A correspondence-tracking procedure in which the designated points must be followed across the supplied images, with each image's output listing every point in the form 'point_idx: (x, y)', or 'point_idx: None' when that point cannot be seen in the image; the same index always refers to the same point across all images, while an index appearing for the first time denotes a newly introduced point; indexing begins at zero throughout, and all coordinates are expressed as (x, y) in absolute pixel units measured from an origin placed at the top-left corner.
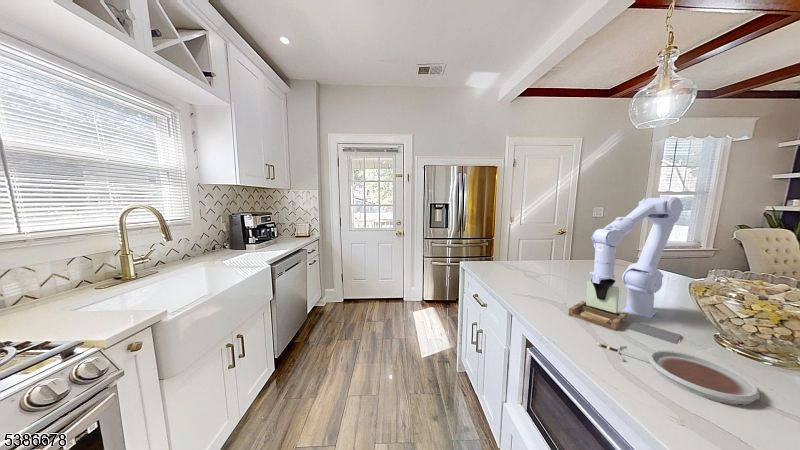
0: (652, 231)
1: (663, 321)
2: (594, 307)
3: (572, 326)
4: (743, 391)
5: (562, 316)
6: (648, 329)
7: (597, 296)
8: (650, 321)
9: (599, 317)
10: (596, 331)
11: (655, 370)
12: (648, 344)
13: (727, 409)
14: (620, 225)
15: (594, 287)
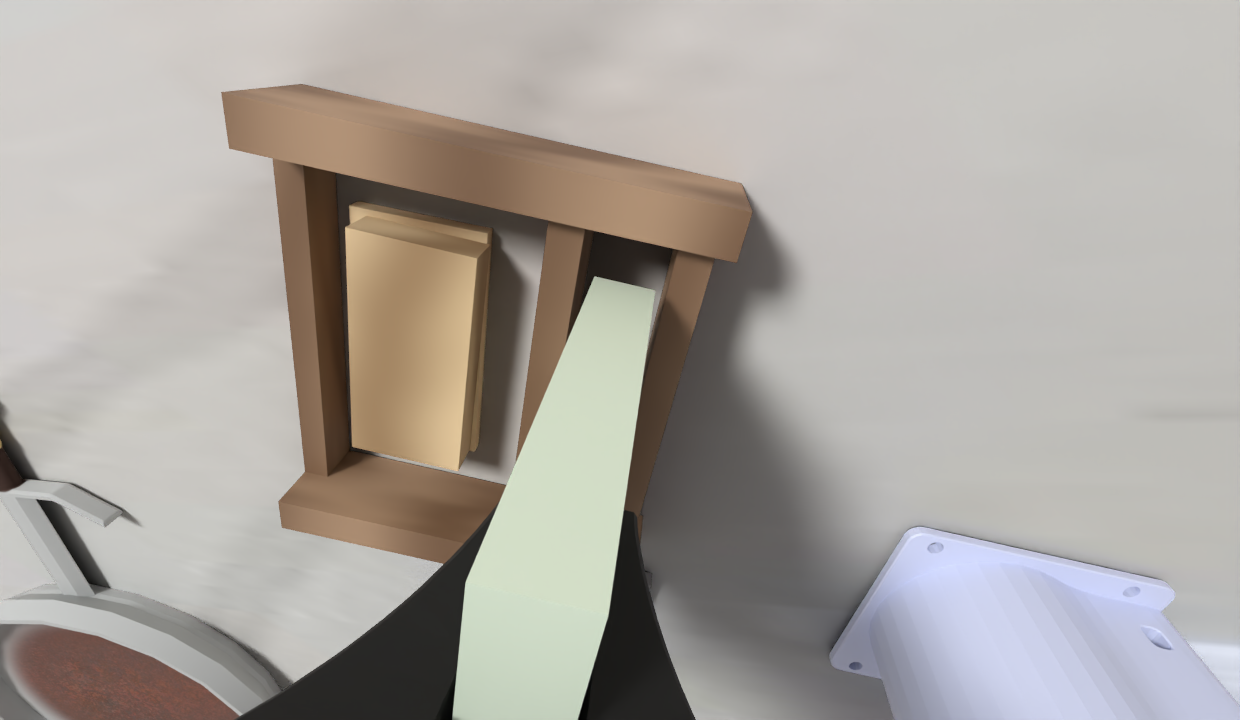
0: None
1: (837, 702)
2: (652, 353)
3: (81, 179)
4: None
5: (228, 15)
6: None
7: (492, 513)
8: (776, 649)
9: (413, 398)
10: (200, 364)
11: (28, 591)
12: (321, 598)
13: None
14: None
15: (380, 624)
